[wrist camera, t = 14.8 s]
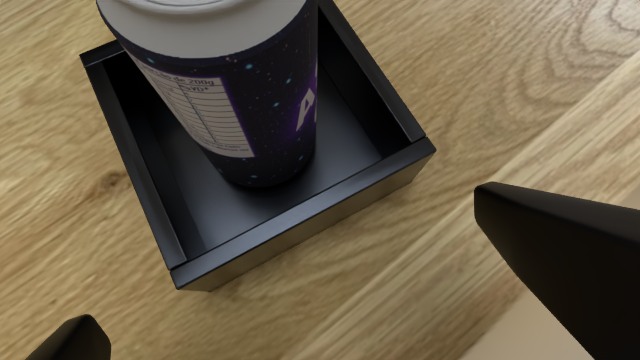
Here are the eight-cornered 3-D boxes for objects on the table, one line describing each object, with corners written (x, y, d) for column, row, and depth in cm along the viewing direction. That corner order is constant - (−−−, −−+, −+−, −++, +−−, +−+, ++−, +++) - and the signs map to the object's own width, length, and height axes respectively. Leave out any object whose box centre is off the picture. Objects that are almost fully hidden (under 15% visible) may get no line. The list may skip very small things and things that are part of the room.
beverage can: (319, 189, 19) (327, 20, 7) (207, 195, 19) (38, 32, 7) (313, 92, 21) (311, -166, 9) (210, 97, 20) (78, -161, 9)
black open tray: (411, 182, 19) (438, 150, 15) (209, 292, 18) (176, 290, 13) (307, 25, 23) (306, -39, 18) (127, 104, 21) (78, 54, 16)
